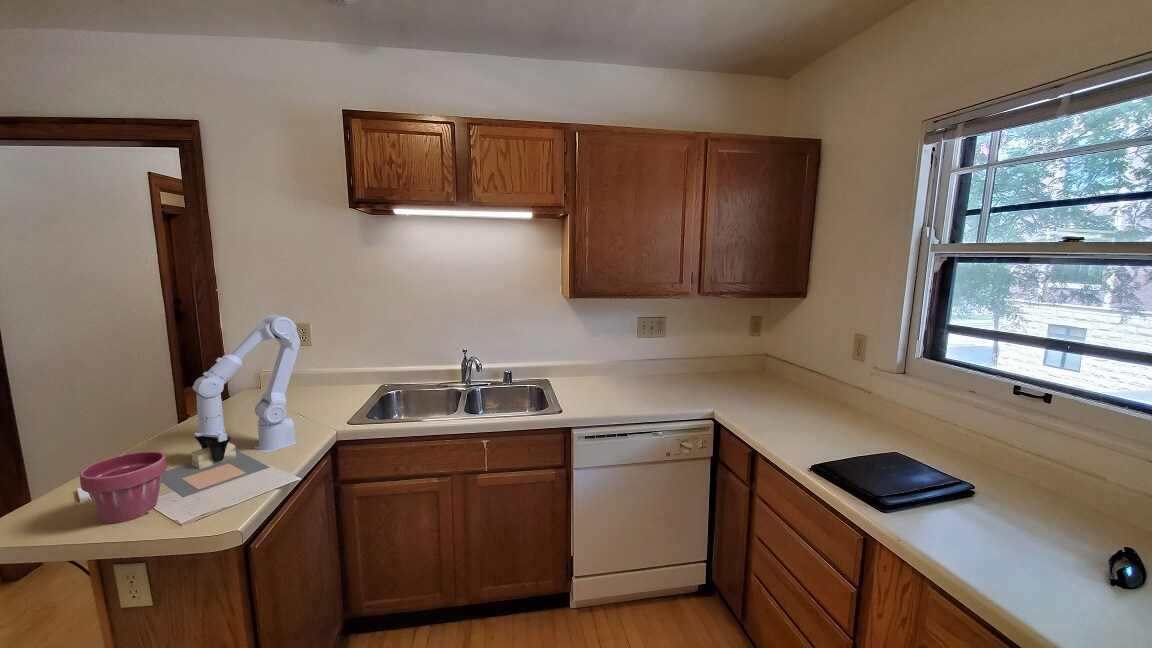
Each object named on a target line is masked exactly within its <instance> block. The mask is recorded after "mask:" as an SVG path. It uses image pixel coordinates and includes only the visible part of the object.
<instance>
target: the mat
mask: <svg viewBox="0 0 1152 648" xmlns="http://www.w3.org/2000/svg"><path fill="white" fill-rule="evenodd" d="M269 468H271V466H269V465H267V464H265V463H263V462H261V461H259V460H257V459H255V458H253V457H251V456H249V455H247V454H245V453H243V452H241V451H239V450H237V449H236V458H234V459H230V460H227V461H224V462H221V463H217V464H214V465H211V466H208V467H205V468H201V469H199V468H197V467H195V466H194V465H192V462H191V463H188V464H184V465H181V466H178V467H173V468H171V469H170V468H169V469H168V470H167V469H166V471H165V472H164V473H163V474H162V478H161V483H162V484H163V485H165V486H167V487H168V488H169V489H171V490H172V491H173V492H175V493H177V494H178V495H179V496H180V497H182V498H185V497H188V496H191V495H193V494H194V495H195V494H197V493H200V492H203V491H206V490H209V489H211V488H212V489H213V488H214V487H218V486H221V485H223V484H226V483H228V482H232V481H235V480H237V479H240V478H241V479H242V478H244V477H245V476H246V477H247V476H249V475H253V474H255V473H257V472H260V471H264V470H267V469H269Z"/></svg>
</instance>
